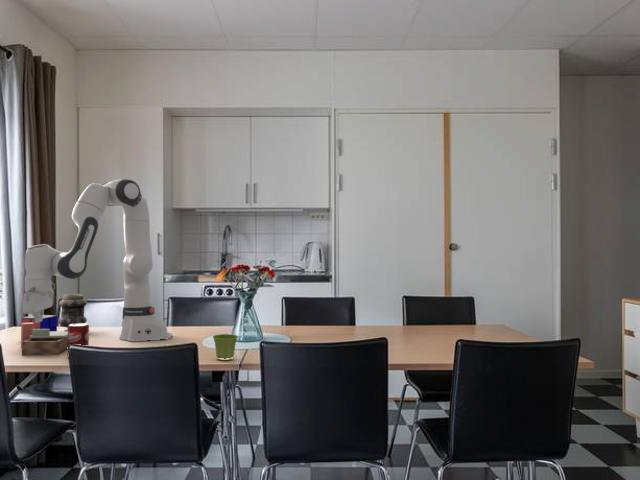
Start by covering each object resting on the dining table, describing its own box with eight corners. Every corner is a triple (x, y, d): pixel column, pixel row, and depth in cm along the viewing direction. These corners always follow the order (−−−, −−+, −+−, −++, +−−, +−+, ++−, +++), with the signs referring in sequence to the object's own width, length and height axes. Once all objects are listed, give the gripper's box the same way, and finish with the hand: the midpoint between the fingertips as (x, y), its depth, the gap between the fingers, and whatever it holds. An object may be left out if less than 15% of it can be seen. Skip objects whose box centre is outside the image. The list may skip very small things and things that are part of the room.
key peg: (32, 346, 205) (32, 322, 205) (33, 348, 202) (34, 323, 202) (20, 347, 203) (21, 323, 203) (22, 349, 200) (22, 324, 200)
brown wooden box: (67, 349, 201) (67, 336, 201) (58, 354, 191) (58, 341, 192) (32, 349, 199) (33, 337, 199) (21, 355, 190) (22, 342, 190)
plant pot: (239, 356, 193) (239, 334, 193) (236, 362, 183) (236, 338, 183) (214, 356, 192) (215, 333, 192) (210, 362, 183) (210, 338, 183)
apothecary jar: (92, 331, 241) (92, 293, 241) (74, 335, 230) (74, 296, 230) (70, 329, 244) (71, 293, 244) (51, 334, 233) (52, 295, 233)
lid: (72, 333, 207) (72, 325, 208) (64, 337, 198) (64, 329, 198) (39, 333, 206) (39, 325, 206) (29, 338, 196) (29, 329, 196)
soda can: (82, 353, 194) (83, 322, 194) (92, 356, 190) (92, 324, 190) (63, 356, 189) (64, 324, 189) (72, 359, 184) (73, 326, 184)
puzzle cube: (40, 342, 215) (41, 318, 215) (20, 340, 217) (20, 317, 217) (57, 337, 225) (57, 315, 225) (37, 336, 227) (38, 314, 227)
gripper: (36, 289, 184) (36, 326, 184) (56, 283, 204) (56, 317, 204) (17, 289, 183) (17, 327, 183) (39, 284, 203) (40, 318, 203)
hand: (38, 322), depth 194 cm, fingers closed
